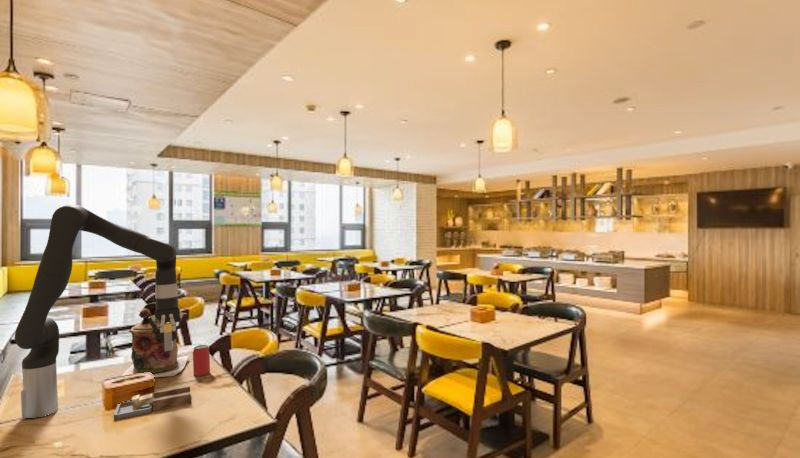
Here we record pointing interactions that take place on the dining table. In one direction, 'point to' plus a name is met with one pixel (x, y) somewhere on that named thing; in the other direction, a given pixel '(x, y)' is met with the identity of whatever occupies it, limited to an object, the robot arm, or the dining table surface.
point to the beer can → (201, 360)
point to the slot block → (171, 398)
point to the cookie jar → (152, 349)
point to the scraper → (168, 336)
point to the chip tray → (131, 410)
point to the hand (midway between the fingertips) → (168, 341)
